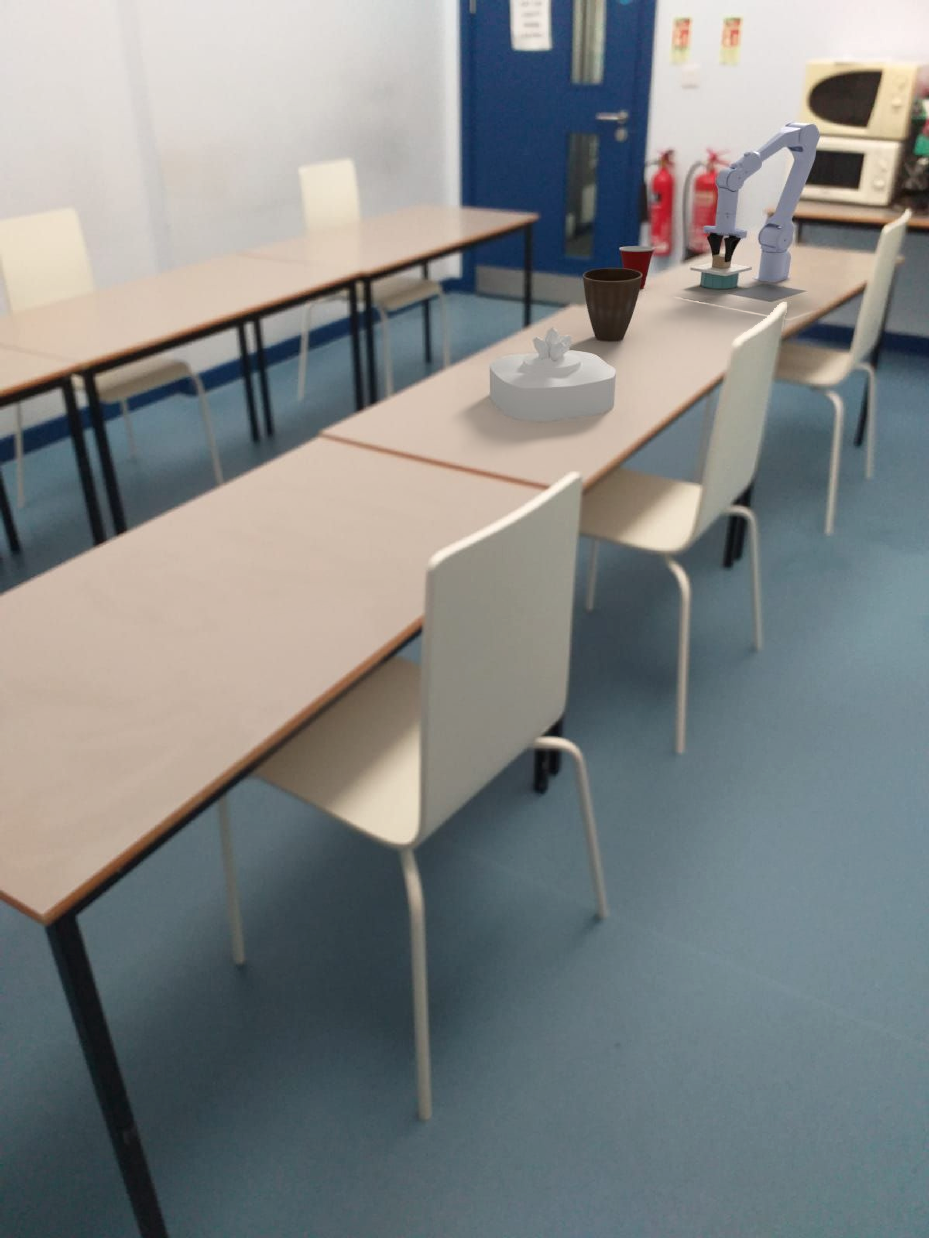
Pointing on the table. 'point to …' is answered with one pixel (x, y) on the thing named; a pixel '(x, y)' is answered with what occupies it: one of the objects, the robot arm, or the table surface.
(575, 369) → the tissue box
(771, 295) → the mat
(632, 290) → the plant pot
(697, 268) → the lid
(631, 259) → the plastic cup
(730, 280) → the bowl
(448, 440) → the table surface
